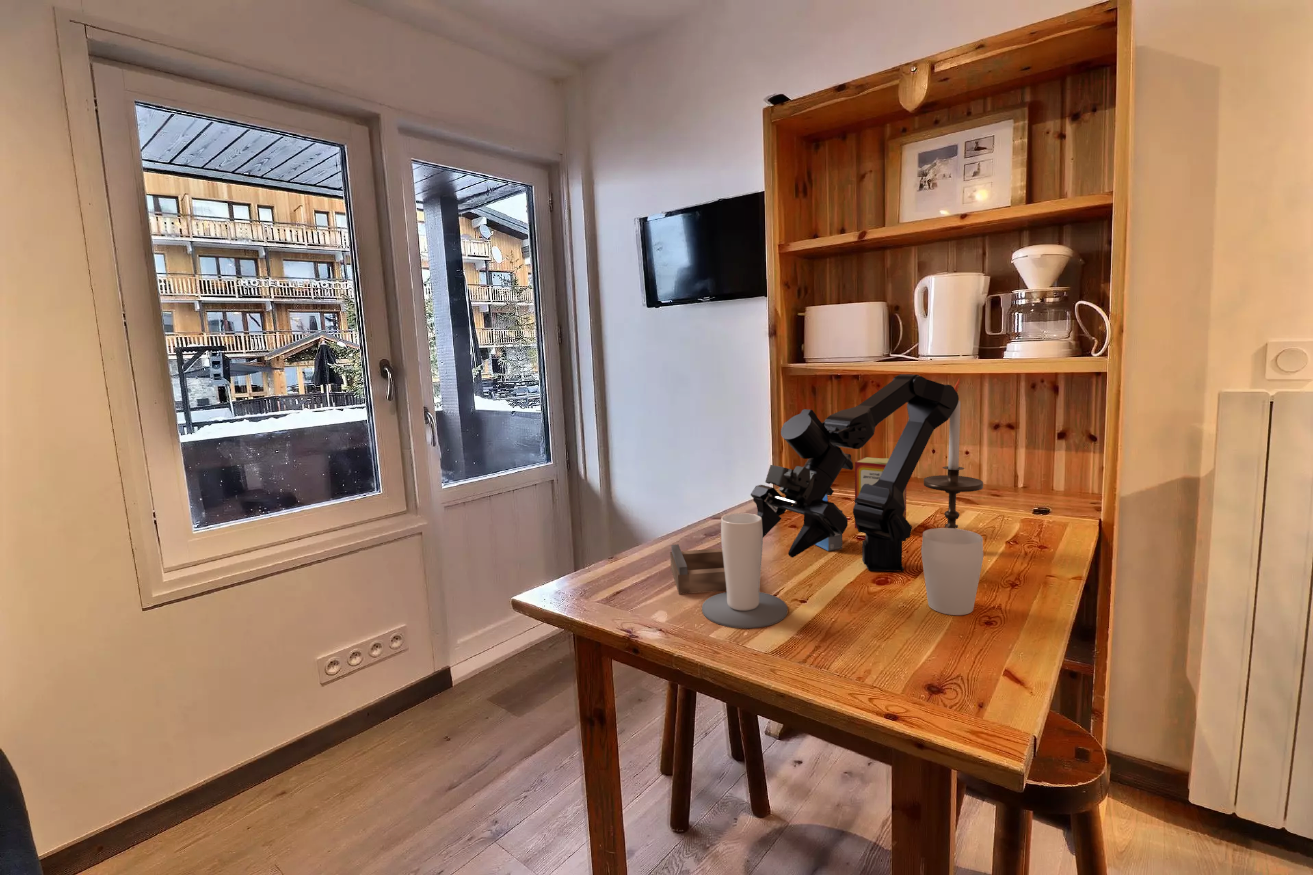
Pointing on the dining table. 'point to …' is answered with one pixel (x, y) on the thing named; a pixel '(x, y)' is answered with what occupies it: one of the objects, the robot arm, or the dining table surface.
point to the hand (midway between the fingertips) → (771, 548)
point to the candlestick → (953, 471)
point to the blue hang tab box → (831, 539)
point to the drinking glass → (742, 559)
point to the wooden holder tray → (698, 570)
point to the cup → (951, 569)
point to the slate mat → (745, 612)
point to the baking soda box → (870, 474)
